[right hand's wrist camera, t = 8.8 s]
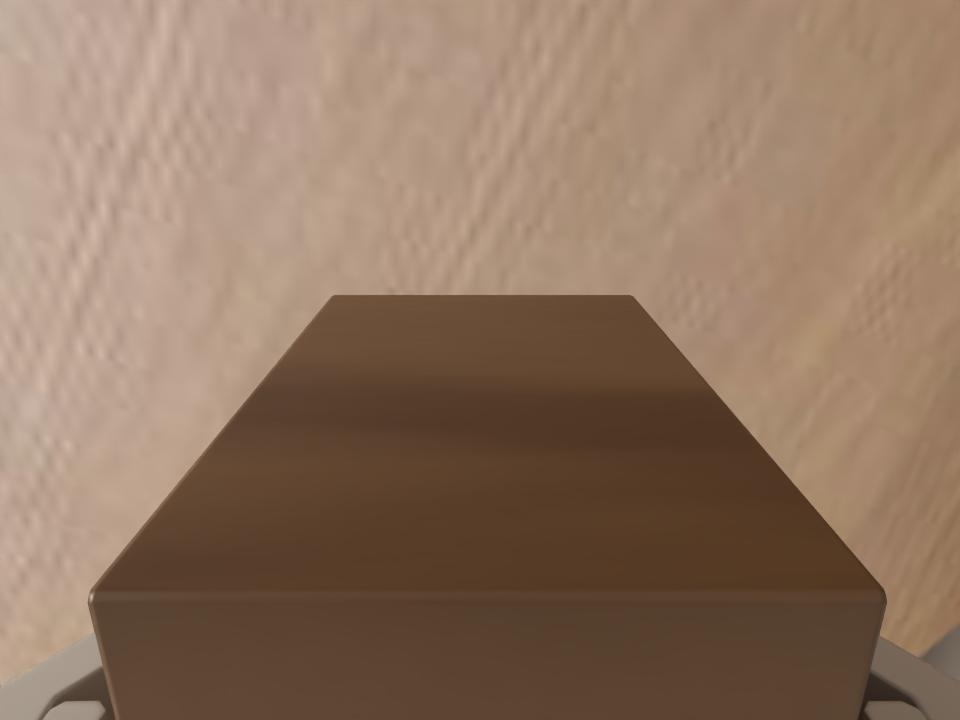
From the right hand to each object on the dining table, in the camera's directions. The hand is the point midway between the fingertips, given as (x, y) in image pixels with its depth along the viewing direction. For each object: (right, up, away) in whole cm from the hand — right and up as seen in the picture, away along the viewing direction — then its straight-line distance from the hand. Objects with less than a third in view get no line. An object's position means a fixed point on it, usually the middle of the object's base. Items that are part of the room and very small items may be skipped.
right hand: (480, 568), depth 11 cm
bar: (0, -6, +5) cm, 8 cm away
